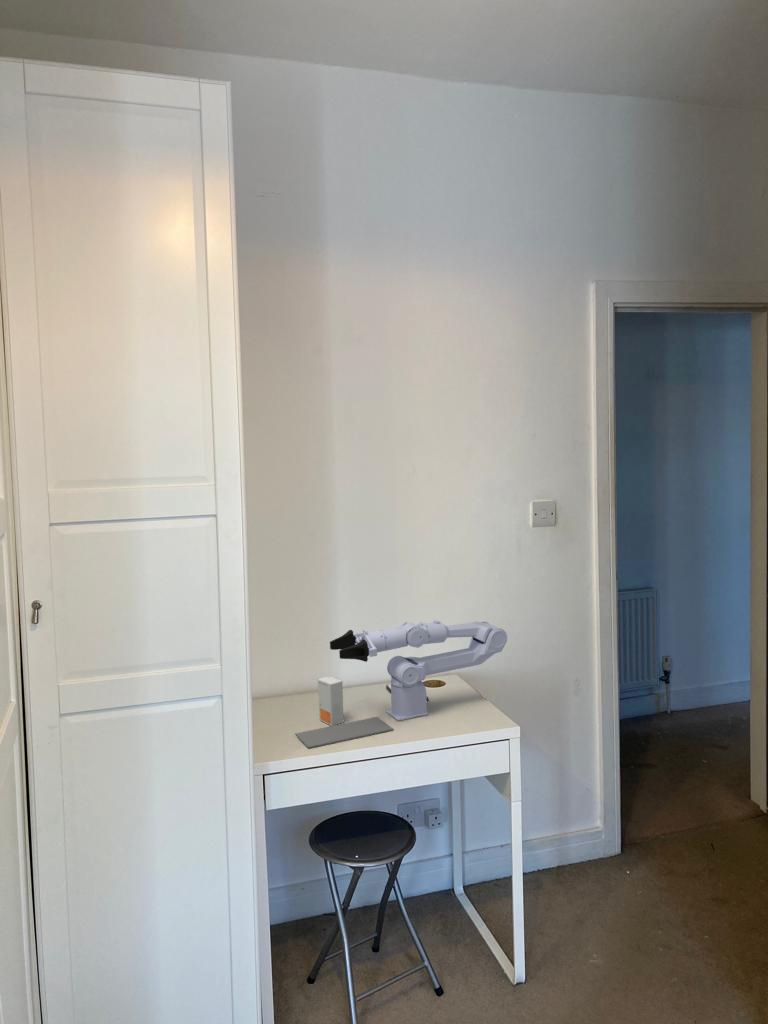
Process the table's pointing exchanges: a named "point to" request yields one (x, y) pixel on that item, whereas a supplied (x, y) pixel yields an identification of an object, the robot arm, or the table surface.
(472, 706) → the table surface
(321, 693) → the skincare box
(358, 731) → the mat
